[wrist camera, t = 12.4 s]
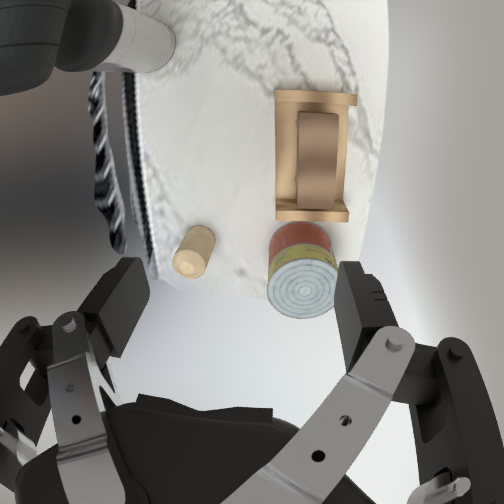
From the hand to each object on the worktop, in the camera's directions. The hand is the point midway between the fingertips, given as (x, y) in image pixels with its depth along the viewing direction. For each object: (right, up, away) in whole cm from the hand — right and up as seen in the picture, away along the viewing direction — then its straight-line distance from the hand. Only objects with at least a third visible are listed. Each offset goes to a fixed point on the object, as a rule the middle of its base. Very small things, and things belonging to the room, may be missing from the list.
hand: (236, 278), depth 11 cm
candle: (-9, +4, +41) cm, 42 cm away
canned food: (+9, +2, +41) cm, 42 cm away
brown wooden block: (+9, +15, +27) cm, 32 cm away
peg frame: (+10, +17, +31) cm, 37 cm away
